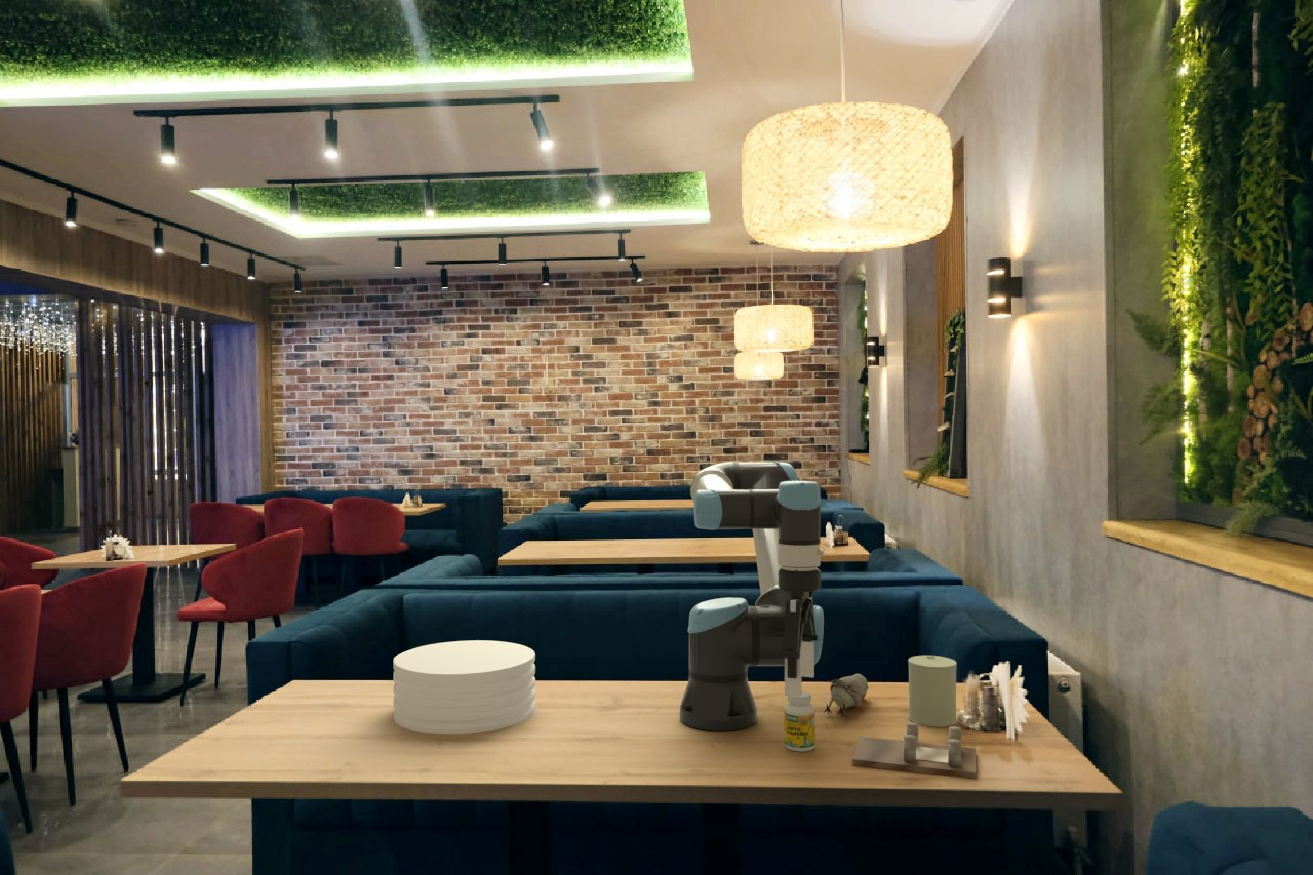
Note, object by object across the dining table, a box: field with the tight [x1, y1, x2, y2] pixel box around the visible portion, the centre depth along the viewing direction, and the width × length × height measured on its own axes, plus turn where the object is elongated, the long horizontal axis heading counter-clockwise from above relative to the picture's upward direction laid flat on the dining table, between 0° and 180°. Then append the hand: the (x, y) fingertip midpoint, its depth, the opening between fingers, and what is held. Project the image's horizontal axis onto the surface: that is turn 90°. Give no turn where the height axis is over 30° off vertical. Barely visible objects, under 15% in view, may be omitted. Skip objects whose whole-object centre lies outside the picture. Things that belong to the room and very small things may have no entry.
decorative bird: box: [823, 673, 869, 718], centre depth 192 cm, size 5×16×8 cm, turn 146°
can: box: [907, 655, 958, 728], centre depth 184 cm, size 9×9×12 cm
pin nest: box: [851, 721, 977, 780], centre depth 162 cm, size 20×12×5 cm, turn 71°
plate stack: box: [392, 639, 536, 735], centre depth 190 cm, size 28×28×12 cm
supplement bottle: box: [784, 690, 816, 753], centre depth 168 cm, size 5×5×10 cm
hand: (799, 685), depth 168 cm, fingers open, 13 cm apart
